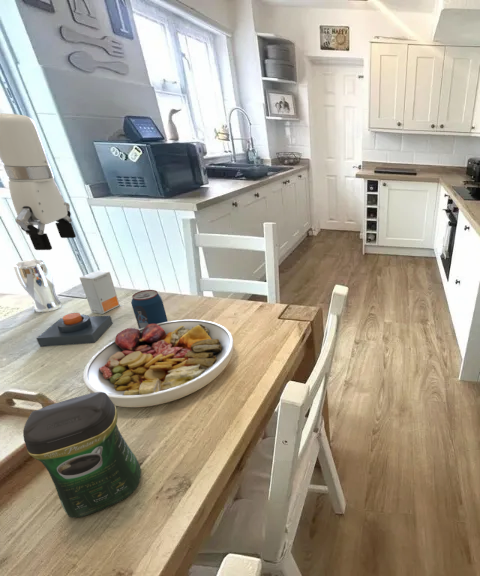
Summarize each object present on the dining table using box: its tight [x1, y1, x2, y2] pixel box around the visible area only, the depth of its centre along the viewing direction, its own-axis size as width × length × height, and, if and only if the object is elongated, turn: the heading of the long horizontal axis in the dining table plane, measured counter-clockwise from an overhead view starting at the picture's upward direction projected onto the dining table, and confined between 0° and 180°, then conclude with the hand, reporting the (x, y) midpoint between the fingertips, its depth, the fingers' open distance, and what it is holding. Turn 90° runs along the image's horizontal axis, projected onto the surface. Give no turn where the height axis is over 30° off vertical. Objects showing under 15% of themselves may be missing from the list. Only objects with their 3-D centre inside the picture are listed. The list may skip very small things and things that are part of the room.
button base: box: [36, 313, 114, 348], centre depth 89 cm, size 12×10×4 cm
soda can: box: [130, 289, 169, 329], centre depth 91 cm, size 7×7×12 cm
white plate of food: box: [82, 319, 235, 408], centre depth 78 cm, size 30×30×8 cm
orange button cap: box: [62, 312, 82, 325], centre depth 88 cm, size 4×4×2 cm
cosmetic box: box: [79, 269, 120, 315], centre depth 100 cm, size 6×4×12 cm
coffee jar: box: [22, 392, 142, 519], centre depth 49 cm, size 10×8×19 cm
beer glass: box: [12, 258, 63, 314], centre depth 97 cm, size 7×7×15 cm
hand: (56, 243), depth 83 cm, fingers open, 9 cm apart
